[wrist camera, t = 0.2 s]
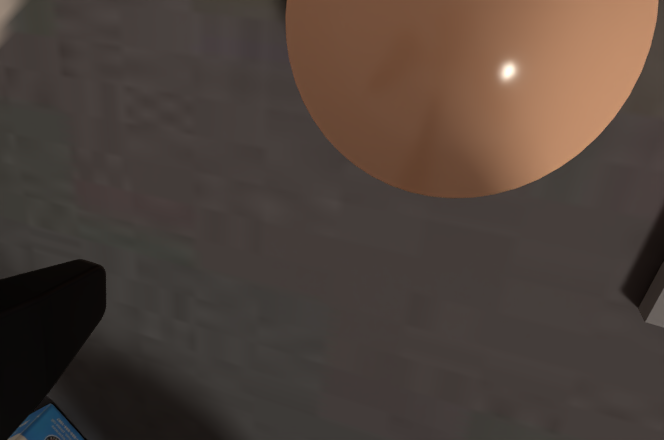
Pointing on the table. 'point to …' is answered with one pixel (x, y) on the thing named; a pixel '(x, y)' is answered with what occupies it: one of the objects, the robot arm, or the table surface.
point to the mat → (654, 300)
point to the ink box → (46, 426)
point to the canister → (465, 84)
